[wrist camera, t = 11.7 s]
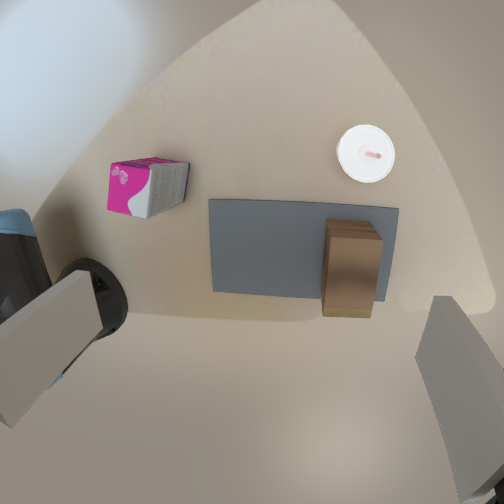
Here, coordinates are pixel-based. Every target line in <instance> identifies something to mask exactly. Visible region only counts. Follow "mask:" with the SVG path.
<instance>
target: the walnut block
mask: <svg viewBox="0 0 504 504" xmlns="http://www.w3.org/2000/svg"><path fill="white" fill-rule="evenodd" d="M382 248H383V239H382V238H381V236H380V235H379V234H378V232H377V231H376V230H375V228H374V227H373V226H372V224H371V223H370V222H367V221H352V220H335V219H326V228H325V242H324V255H323V266H322V277H321V299H322V312H323V316H326V317H350V318H351V317H352V318H370V317H371V312H372V307H373V302H374V297H375V291H376V286H377V280H378V274H379V268H380V261H381V255H382Z"/></svg>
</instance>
